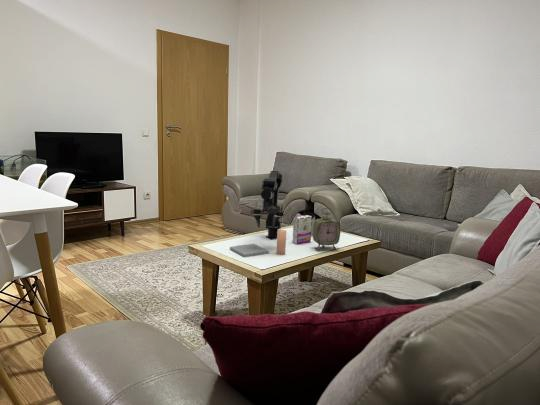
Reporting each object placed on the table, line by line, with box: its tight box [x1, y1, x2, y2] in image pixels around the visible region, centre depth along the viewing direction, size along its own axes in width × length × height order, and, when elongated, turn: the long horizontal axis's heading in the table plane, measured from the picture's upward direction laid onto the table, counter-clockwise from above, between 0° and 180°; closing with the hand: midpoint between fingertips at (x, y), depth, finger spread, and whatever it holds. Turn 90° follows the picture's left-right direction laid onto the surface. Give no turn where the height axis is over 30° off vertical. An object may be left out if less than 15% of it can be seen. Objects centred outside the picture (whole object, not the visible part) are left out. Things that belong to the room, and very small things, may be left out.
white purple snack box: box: [294, 211, 316, 238], centre depth 286 cm, size 9×14×15 cm, turn 71°
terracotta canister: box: [275, 229, 287, 256], centre depth 242 cm, size 5×5×13 cm
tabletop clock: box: [312, 207, 341, 251], centre depth 254 cm, size 14×9×25 cm, turn 106°
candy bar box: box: [292, 215, 312, 245], centre depth 266 cm, size 11×5×16 cm, turn 126°
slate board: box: [229, 243, 270, 258], centre depth 244 cm, size 16×16×2 cm
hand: (266, 228), depth 247 cm, fingers open, 9 cm apart
